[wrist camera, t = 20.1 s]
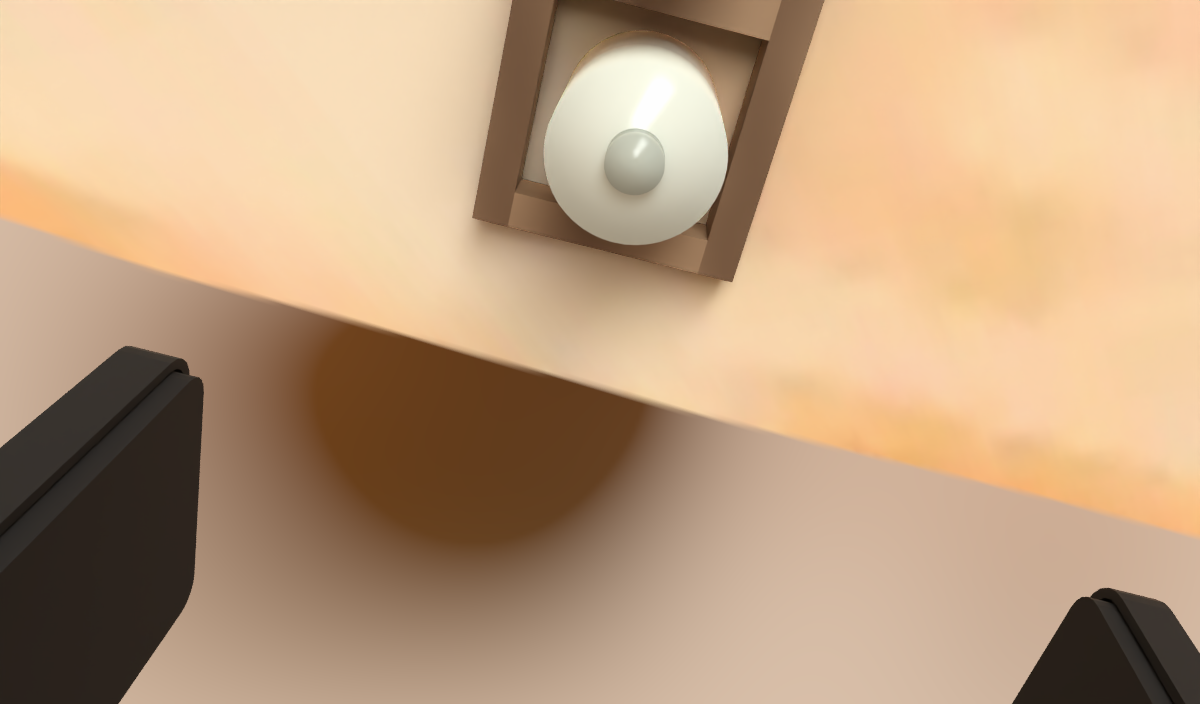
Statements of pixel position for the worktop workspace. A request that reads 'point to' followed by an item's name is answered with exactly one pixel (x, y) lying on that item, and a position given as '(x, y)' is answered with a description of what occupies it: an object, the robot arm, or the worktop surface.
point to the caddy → (786, 25)
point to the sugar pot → (637, 140)
